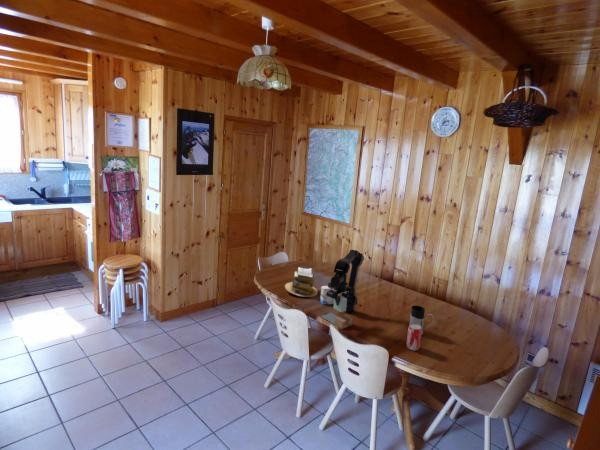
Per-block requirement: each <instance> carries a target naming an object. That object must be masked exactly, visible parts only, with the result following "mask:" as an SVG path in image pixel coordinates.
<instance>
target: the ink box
mask: <svg viewBox="0 0 600 450" xmlns="http://www.w3.org/2000/svg"><path fill="white" fill-rule="evenodd" d="M330 290H333V291H336V290H334V289H330V288H328V285H322V286H321V287H320V298H319V299H320V303H321V304H322V305H323V304H324V305H334V298H331V297H329V296H327V291H330Z"/></svg>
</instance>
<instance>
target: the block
mask: <svg viewBox="0 0 600 450" xmlns="http://www.w3.org/2000/svg"><path fill="white" fill-rule="evenodd" d="M339 296H340V297H341V298H340V302H339V305H338V306H337V305H336V302H335V299H334V304H333V309H334V310H337V311H338V312H340V313H343V312H345V311H346V304H347V298H345V297H343V296H342V294H341V295H340V294H339Z"/></svg>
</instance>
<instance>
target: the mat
mask: <svg viewBox="0 0 600 450" xmlns="http://www.w3.org/2000/svg"><path fill="white" fill-rule="evenodd" d="M320 317H321V318H322V317H323V318H322V319H324V320H326V321H327V320H328V322H329V321H330V322H329V323H331V324H332V323H333V325H334V324H335V318H337V317H339V316H338V315H336V314H334V313H333V312H330V313H327V314H324V315H321V316H320Z"/></svg>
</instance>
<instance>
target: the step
mask: <svg viewBox="0 0 600 450" xmlns="http://www.w3.org/2000/svg"><path fill="white" fill-rule="evenodd" d="M353 321H354V317H351V316H349V315H348V314H343V315H341V316H338V317H337V318H335V326H336V327H337V328H339V329H341V330H342V329H346V328H349V327H350V326H351V327H352V326H353Z"/></svg>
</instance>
